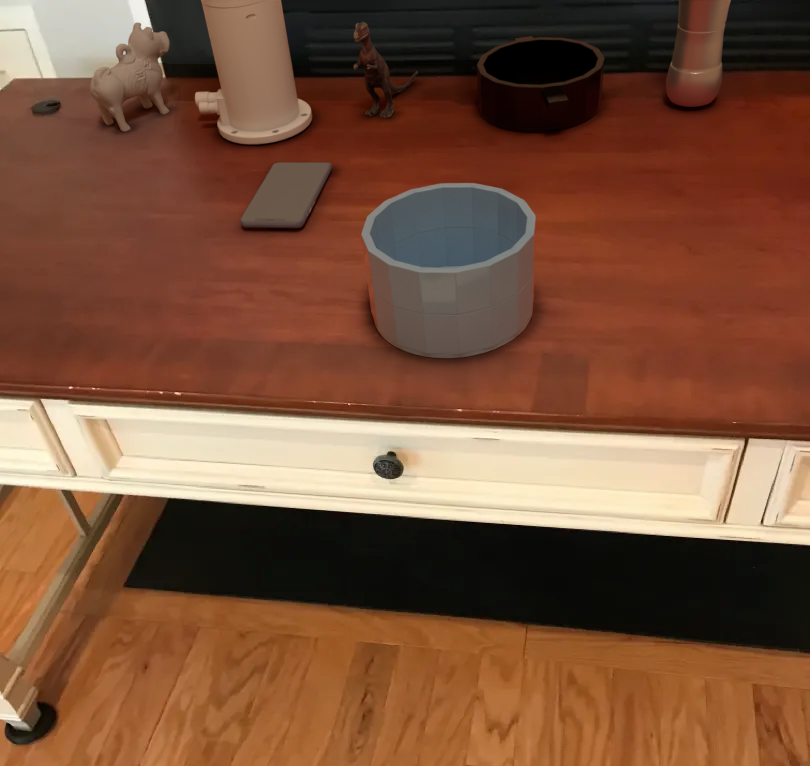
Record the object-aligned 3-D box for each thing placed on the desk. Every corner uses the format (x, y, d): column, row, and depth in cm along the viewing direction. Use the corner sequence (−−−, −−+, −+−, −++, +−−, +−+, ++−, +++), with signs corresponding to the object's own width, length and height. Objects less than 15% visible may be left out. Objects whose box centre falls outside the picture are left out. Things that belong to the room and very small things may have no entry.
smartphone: (333, 161, 109) (301, 222, 99) (334, 168, 110) (303, 231, 100) (274, 161, 111) (237, 222, 101) (275, 168, 111) (238, 230, 102)
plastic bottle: (718, 113, 111) (751, -76, 96) (662, 113, 112) (685, -74, 98) (717, 91, 115) (748, -94, 100) (663, 91, 116) (685, -91, 102)
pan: (494, 149, 110) (493, 103, 106) (467, 82, 124) (465, 39, 120) (620, 132, 110) (624, 86, 106) (578, 67, 124) (581, 23, 120)
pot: (360, 356, 84) (347, 271, 77) (387, 265, 94) (378, 183, 88) (528, 360, 82) (529, 273, 75) (537, 266, 92) (539, 182, 85)
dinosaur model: (345, 25, 109) (396, -10, 118) (351, 124, 117) (397, 85, 127) (375, 28, 108) (424, -7, 117) (378, 129, 116) (424, 88, 126)
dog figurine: (192, 102, 127) (172, 19, 119) (118, 136, 122) (92, 51, 114) (169, 93, 130) (148, 12, 122) (96, 126, 124) (69, 43, 116)
